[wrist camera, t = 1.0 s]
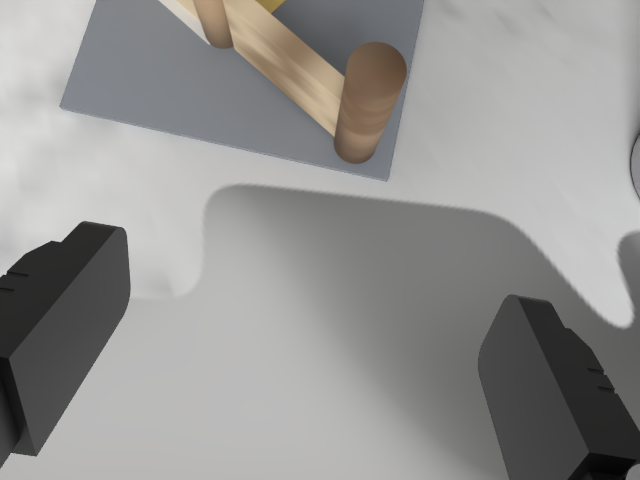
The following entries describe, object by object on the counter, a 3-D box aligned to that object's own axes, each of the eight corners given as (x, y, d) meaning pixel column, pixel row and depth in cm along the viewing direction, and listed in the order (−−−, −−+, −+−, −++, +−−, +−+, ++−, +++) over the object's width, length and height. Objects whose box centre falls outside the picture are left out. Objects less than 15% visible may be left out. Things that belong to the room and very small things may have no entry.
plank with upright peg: (226, 57, 31) (196, -49, 22) (255, 30, 32) (237, -85, 23) (356, 172, 30) (379, 109, 21) (385, 142, 31) (419, 68, 22)
